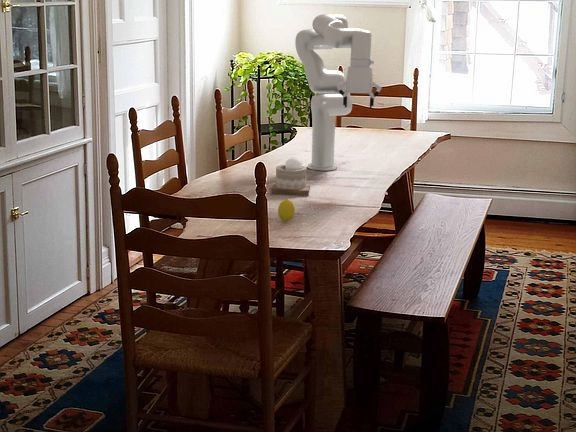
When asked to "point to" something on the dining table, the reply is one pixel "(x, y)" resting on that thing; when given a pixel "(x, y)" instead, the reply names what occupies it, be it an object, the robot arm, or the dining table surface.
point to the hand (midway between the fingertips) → (358, 107)
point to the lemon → (286, 210)
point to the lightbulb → (293, 164)
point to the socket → (290, 182)
